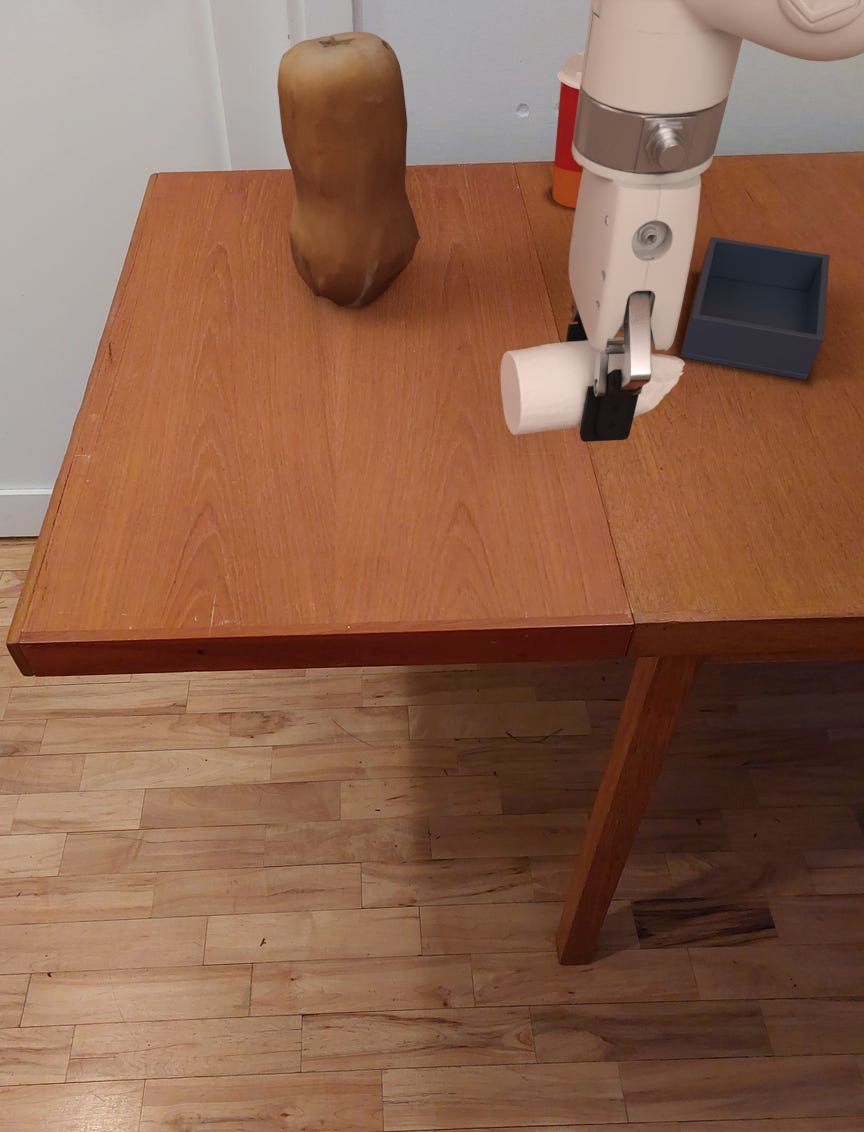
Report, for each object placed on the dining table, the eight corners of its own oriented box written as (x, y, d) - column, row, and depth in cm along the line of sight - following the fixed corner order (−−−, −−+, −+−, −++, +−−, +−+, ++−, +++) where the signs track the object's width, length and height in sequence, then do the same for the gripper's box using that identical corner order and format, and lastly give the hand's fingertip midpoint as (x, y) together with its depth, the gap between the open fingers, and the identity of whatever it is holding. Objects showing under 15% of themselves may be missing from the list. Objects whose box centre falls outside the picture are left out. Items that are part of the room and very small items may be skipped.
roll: (689, 434, 60) (710, 362, 56) (516, 453, 60) (524, 382, 55) (660, 382, 64) (678, 311, 60) (497, 399, 63) (503, 328, 59)
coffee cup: (607, 182, 114) (631, 50, 103) (610, 213, 109) (636, 78, 98) (541, 180, 115) (558, 48, 103) (542, 211, 110) (559, 76, 98)
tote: (806, 380, 88) (823, 339, 85) (679, 357, 91) (691, 316, 87) (813, 294, 98) (829, 254, 94) (699, 276, 100) (710, 236, 97)
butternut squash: (318, 256, 104) (300, 4, 84) (429, 273, 101) (438, 16, 82) (276, 321, 96) (246, 58, 76) (396, 340, 93) (398, 74, 74)
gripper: (768, 197, 42) (678, 487, 56) (676, 61, 53) (621, 332, 67) (609, 205, 42) (559, 493, 56) (550, 67, 53) (521, 337, 67)
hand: (593, 403), depth 61 cm, fingers closed on roll, 6 cm apart
